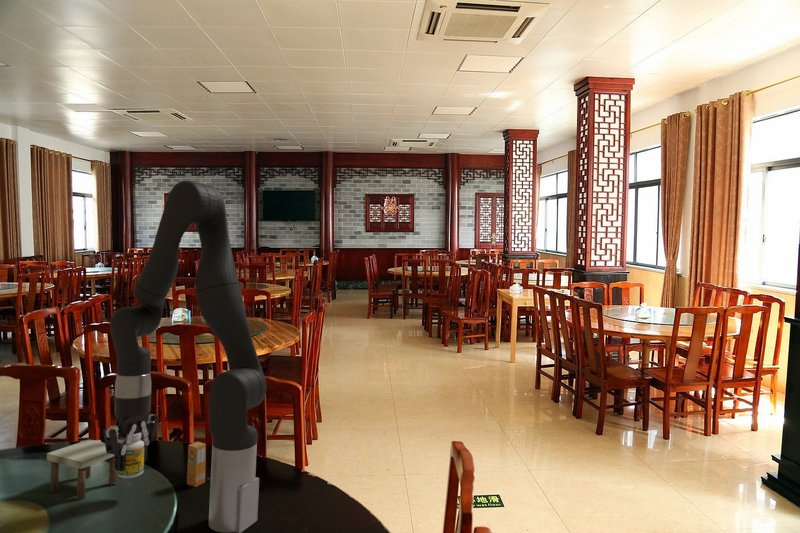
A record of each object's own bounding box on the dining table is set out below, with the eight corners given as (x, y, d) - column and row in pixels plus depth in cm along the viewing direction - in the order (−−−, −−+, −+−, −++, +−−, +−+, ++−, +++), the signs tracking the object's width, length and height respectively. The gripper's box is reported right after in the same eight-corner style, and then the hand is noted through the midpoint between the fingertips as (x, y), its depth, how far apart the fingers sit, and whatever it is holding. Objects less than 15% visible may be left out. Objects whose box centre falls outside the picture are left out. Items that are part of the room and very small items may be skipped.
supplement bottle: (141, 468, 129) (142, 428, 129) (145, 476, 124) (146, 434, 124) (116, 472, 126) (117, 431, 126) (119, 480, 121) (120, 438, 121)
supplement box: (185, 484, 134) (187, 444, 134) (196, 479, 137) (198, 440, 137) (194, 487, 133) (196, 447, 132) (205, 483, 136) (207, 443, 135)
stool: (120, 483, 133) (121, 446, 133) (79, 501, 123) (81, 461, 122) (87, 474, 137) (88, 439, 137) (45, 491, 126) (47, 453, 126)
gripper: (119, 402, 117) (117, 480, 117) (169, 388, 130) (167, 458, 131) (93, 398, 120) (91, 474, 120) (145, 384, 133) (143, 453, 133)
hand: (131, 465), depth 125 cm, fingers closed on supplement bottle, 5 cm apart
